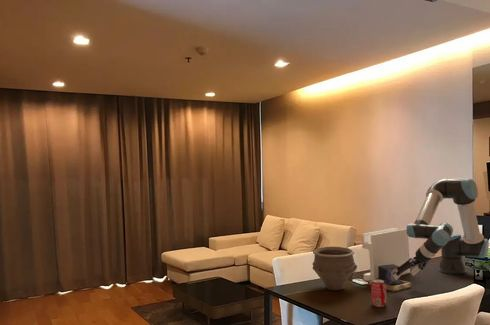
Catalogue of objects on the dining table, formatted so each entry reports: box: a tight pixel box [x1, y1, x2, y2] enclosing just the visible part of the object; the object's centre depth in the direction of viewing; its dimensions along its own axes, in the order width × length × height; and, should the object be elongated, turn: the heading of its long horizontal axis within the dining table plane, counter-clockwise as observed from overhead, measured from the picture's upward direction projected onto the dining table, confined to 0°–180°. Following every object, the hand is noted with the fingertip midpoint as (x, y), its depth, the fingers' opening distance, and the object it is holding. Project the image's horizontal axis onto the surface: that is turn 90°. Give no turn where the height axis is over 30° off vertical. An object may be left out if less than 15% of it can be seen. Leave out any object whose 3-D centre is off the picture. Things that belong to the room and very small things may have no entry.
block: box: [361, 227, 411, 282], centre depth 252 cm, size 35×8×28 cm, turn 124°
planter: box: [311, 246, 358, 291], centre depth 230 cm, size 25×24×22 cm
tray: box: [368, 278, 412, 293], centre depth 231 cm, size 14×18×2 cm
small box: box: [378, 264, 401, 286], centre depth 231 cm, size 11×6×10 cm, turn 106°
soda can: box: [370, 279, 388, 308], centre depth 199 cm, size 7×7×12 cm
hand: (403, 275), depth 222 cm, fingers open, 13 cm apart
